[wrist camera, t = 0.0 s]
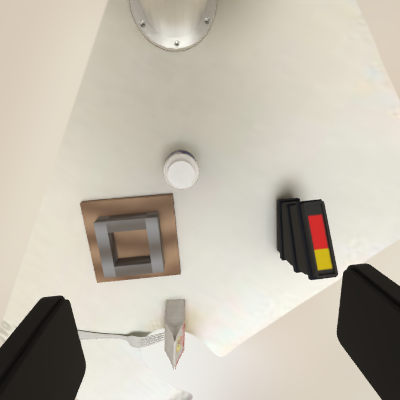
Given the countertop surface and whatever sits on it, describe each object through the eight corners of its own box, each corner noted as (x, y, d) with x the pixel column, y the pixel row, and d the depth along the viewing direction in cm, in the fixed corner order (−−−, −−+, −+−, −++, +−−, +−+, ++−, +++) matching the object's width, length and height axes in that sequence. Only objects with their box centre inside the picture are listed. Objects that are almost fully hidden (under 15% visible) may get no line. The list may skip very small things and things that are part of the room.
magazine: (278, 269, 49) (315, 281, 34) (267, 203, 51) (298, 188, 36) (296, 266, 49) (341, 278, 34) (285, 201, 51) (323, 186, 37)
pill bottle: (201, 171, 44) (207, 182, 35) (175, 185, 45) (174, 201, 35) (186, 144, 43) (188, 148, 33) (159, 159, 43) (154, 168, 34)
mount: (82, 201, 44) (72, 208, 40) (172, 193, 45) (171, 200, 41) (99, 279, 49) (91, 292, 45) (180, 270, 49) (180, 283, 45)
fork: (71, 318, 54) (63, 328, 51) (166, 330, 54) (163, 340, 51) (71, 329, 55) (64, 339, 52) (165, 340, 54) (162, 351, 52)
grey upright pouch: (166, 326, 53) (163, 370, 43) (166, 299, 51) (163, 339, 42) (183, 326, 53) (184, 369, 44) (184, 299, 51) (185, 338, 42)
